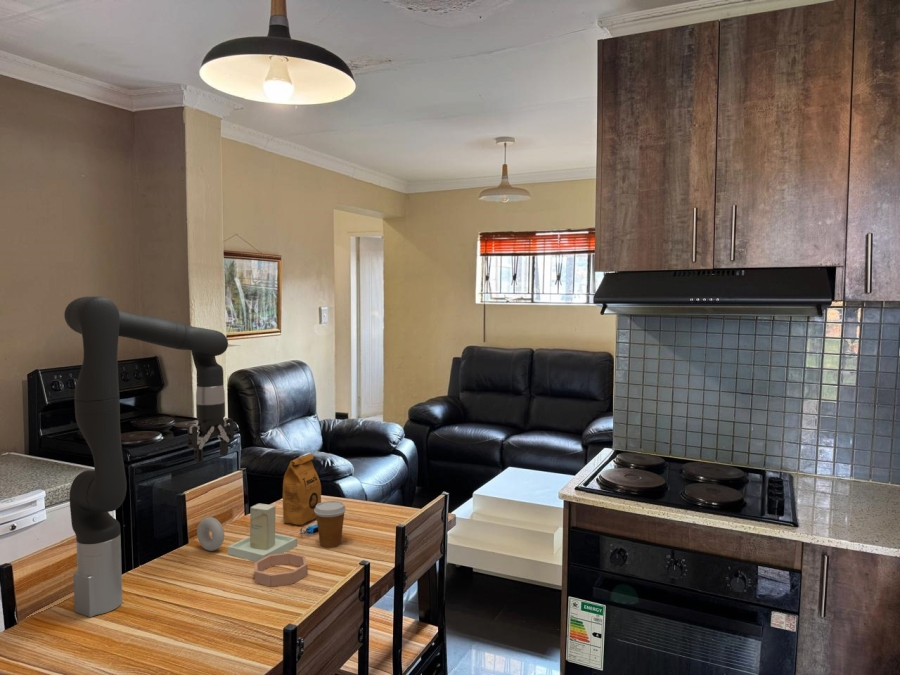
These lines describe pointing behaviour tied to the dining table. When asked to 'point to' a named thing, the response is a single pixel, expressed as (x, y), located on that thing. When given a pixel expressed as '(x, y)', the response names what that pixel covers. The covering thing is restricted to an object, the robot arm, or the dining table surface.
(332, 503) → the disposable coffee cup
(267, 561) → the holder ring
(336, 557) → the dining table surface
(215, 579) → the dining table surface
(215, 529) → the donut
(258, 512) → the skincare box
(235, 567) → the dining table surface
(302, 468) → the coffee package
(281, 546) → the tray
